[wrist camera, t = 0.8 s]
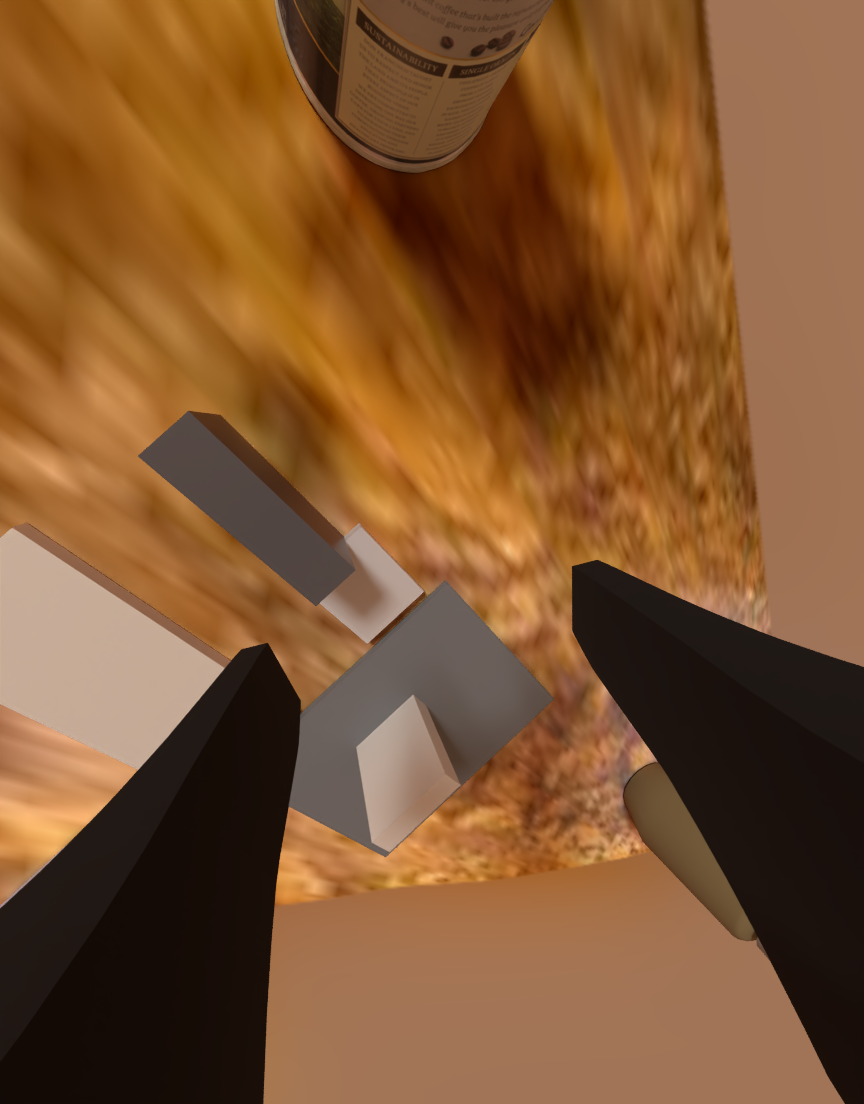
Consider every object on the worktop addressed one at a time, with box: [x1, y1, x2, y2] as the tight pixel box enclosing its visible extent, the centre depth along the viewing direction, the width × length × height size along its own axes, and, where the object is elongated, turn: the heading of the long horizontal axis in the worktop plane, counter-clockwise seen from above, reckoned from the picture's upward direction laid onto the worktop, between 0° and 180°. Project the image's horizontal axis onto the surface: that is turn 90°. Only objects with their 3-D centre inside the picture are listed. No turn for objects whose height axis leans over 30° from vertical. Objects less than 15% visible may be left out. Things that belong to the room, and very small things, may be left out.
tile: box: [356, 695, 461, 852], centre depth 25 cm, size 6×2×7 cm, turn 129°
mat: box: [289, 581, 554, 857], centre depth 29 cm, size 19×15×1 cm
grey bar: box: [138, 411, 424, 644], centre depth 20 cm, size 5×15×6 cm, turn 39°
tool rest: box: [0, 523, 231, 770], centre depth 22 cm, size 8×17×1 cm, turn 39°
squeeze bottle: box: [624, 763, 770, 960], centre depth 33 cm, size 8×8×18 cm
